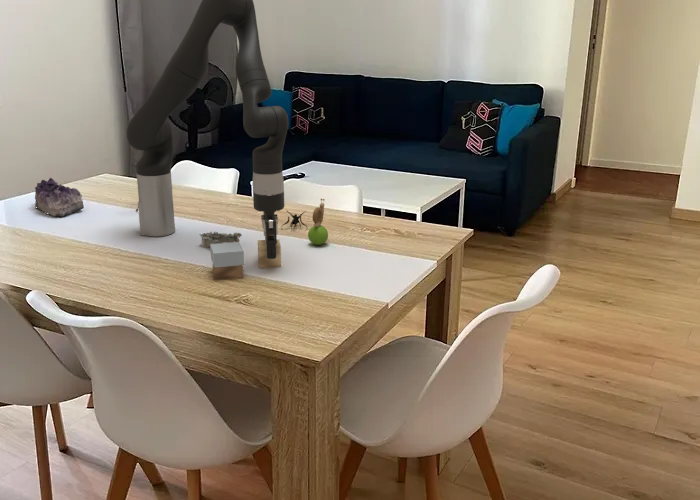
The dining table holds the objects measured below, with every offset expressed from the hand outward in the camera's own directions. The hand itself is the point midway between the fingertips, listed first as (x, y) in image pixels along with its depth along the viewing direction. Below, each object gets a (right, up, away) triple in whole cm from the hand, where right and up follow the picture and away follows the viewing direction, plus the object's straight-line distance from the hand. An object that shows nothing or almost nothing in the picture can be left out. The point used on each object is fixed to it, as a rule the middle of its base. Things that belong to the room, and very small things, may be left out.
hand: (270, 252), depth 181 cm
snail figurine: (+11, +2, +16) cm, 20 cm away
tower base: (-10, -5, -6) cm, 13 cm away
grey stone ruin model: (-15, +1, +13) cm, 20 cm away
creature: (+4, +7, +29) cm, 30 cm away
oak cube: (0, -3, +1) cm, 3 cm away
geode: (-72, +13, +45) cm, 86 cm away
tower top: (-10, -2, -7) cm, 12 cm away
